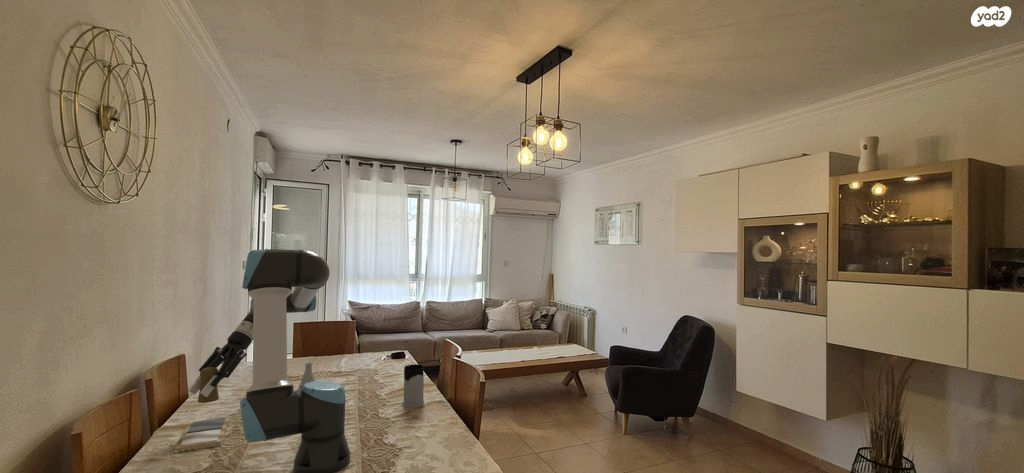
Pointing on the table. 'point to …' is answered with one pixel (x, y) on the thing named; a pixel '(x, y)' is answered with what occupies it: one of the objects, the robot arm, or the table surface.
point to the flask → (307, 375)
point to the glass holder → (413, 386)
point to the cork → (206, 376)
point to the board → (203, 434)
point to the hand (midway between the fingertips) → (197, 393)
